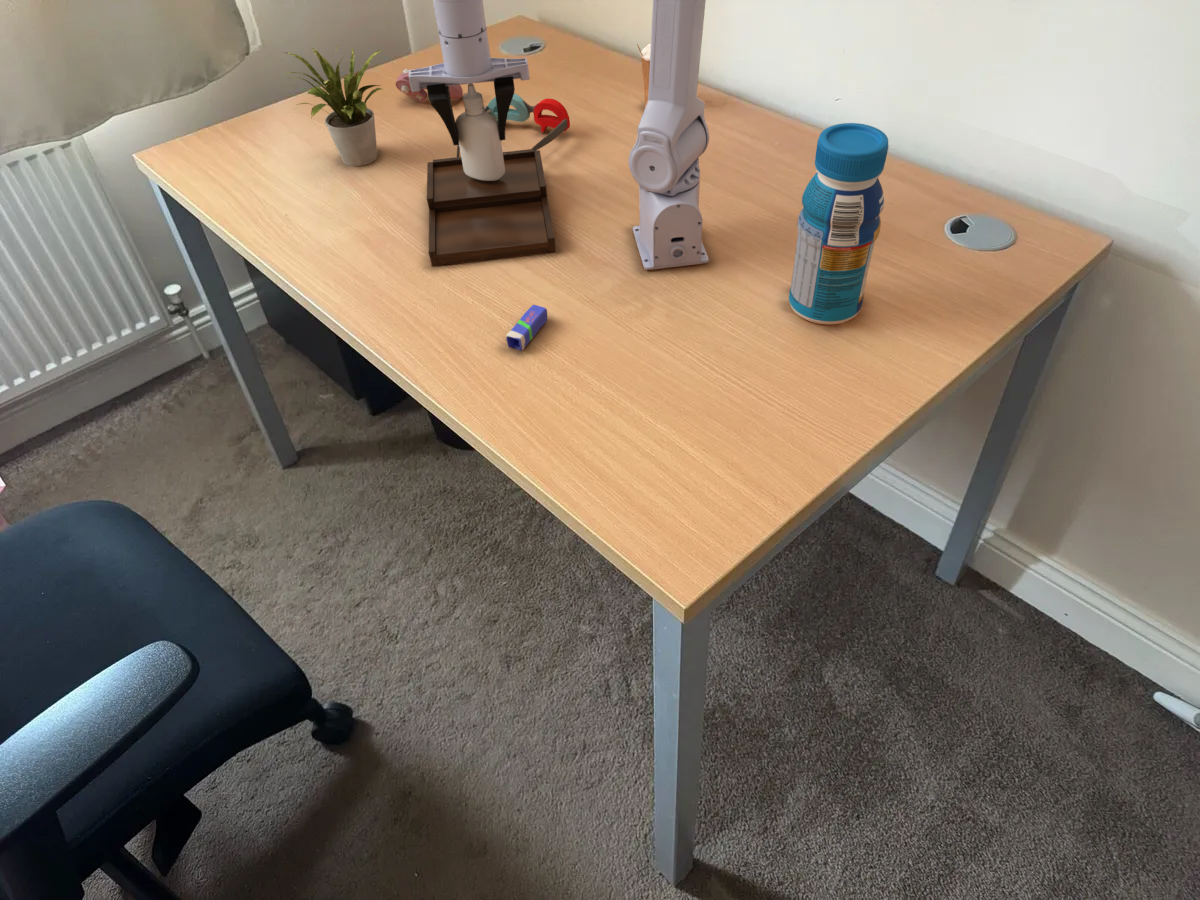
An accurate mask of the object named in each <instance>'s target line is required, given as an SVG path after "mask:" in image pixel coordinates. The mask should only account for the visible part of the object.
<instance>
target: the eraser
mask: <svg viewBox="0 0 1200 900" xmlns="http://www.w3.org/2000/svg"><path fill="white" fill-rule="evenodd" d="M547 321H548V309H547V308H546V307H545V306H542V305H541V306H540V305H537V304H532V305H531V306H530V307H529V308H528V309H527V311H525V312H524V313H523V315H522V316H521V317H520V318H519V320H518V321H517V322H516V323H515V325H514V326H513V327H512V328H511V329H510V331H508V332H507V334H506V335H505V340H506V344H507V348H509V349H510V348H511V349H514V350H517V351H520V352H522V351H523V350H524V349H526V347H527V346H528V345H529V344H530V342H531V341H532V340H533V338H534V337H535V336H536V335H537V333H538V332H539V331H540V330H541V328H542V327H543V326H544V325H545V324H546V323H547Z"/></svg>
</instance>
